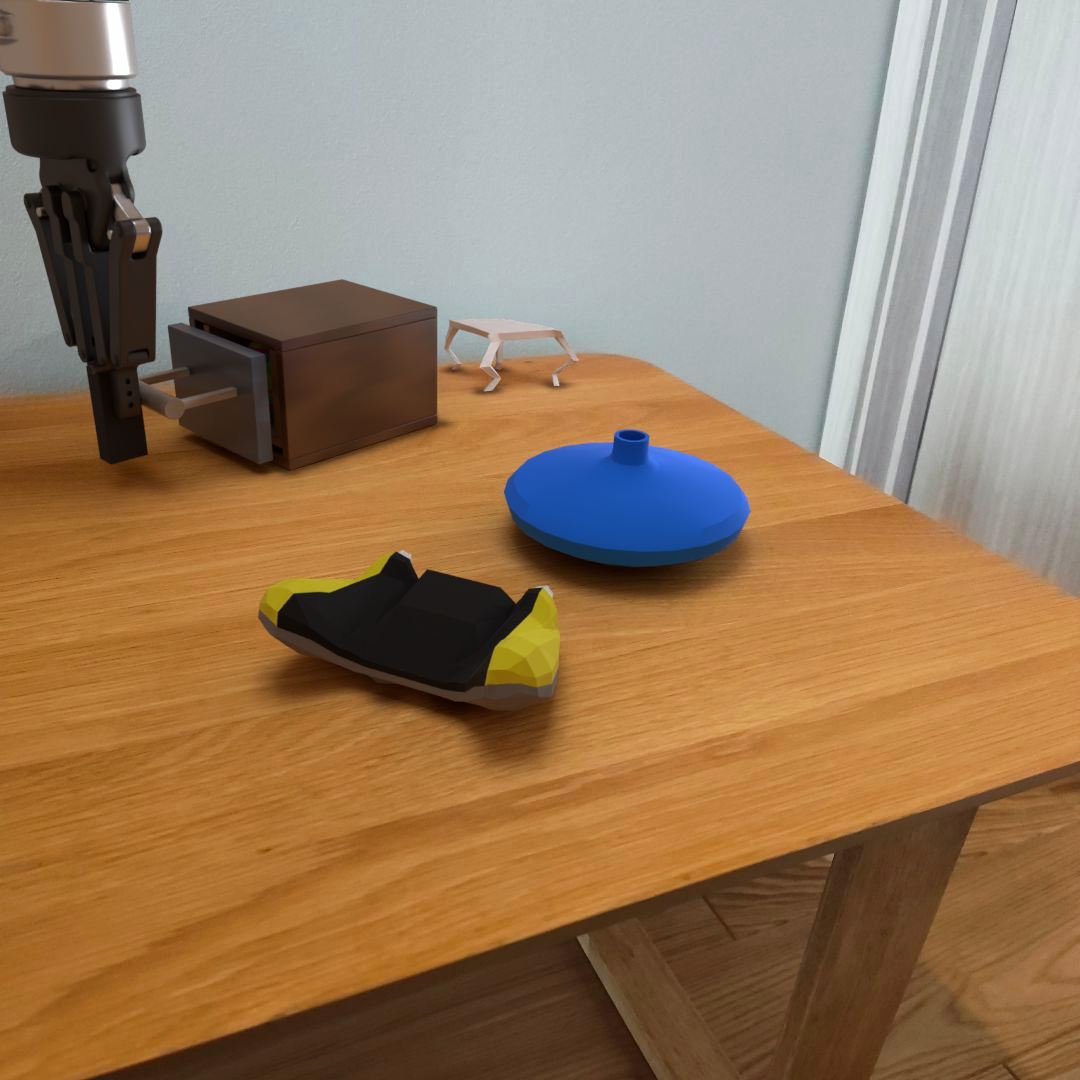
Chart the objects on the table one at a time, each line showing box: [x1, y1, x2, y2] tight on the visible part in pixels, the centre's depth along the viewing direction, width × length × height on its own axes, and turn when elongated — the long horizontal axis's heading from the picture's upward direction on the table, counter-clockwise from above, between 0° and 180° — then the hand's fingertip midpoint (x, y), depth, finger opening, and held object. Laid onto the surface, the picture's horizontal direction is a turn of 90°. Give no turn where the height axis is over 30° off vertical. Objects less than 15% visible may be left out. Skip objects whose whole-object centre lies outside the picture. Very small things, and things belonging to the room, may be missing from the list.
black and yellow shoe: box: [257, 549, 561, 712], centre depth 53 cm, size 15×6×10 cm
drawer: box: [138, 322, 282, 465], centre depth 79 cm, size 19×10×8 cm, turn 138°
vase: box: [503, 428, 751, 568], centre depth 68 cm, size 16×16×7 cm
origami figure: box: [443, 317, 579, 392], centre depth 96 cm, size 12×8×5 cm
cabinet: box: [187, 278, 438, 471], centre depth 83 cm, size 15×12×10 cm
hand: (124, 456), depth 72 cm, fingers closed
